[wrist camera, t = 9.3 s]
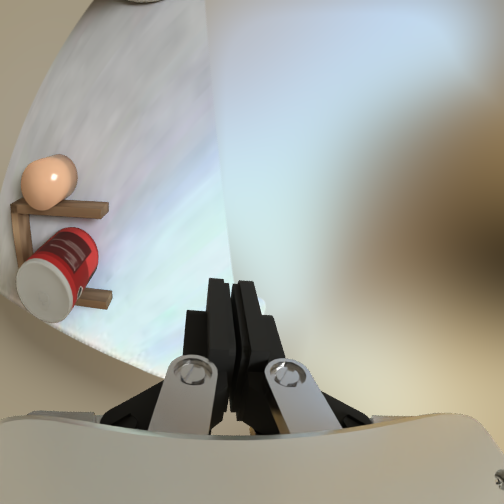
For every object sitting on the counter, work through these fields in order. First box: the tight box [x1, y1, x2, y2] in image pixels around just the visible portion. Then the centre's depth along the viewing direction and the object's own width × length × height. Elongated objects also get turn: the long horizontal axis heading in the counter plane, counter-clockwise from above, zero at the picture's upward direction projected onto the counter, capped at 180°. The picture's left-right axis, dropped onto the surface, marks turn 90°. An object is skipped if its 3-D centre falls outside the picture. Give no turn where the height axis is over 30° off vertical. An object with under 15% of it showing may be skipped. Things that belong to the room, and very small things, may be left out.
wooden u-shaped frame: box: [10, 198, 112, 310], centre depth 36 cm, size 14×14×3 cm
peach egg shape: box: [21, 154, 78, 211], centre depth 31 cm, size 6×6×5 cm
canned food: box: [16, 227, 98, 323], centre depth 33 cm, size 8×8×11 cm
